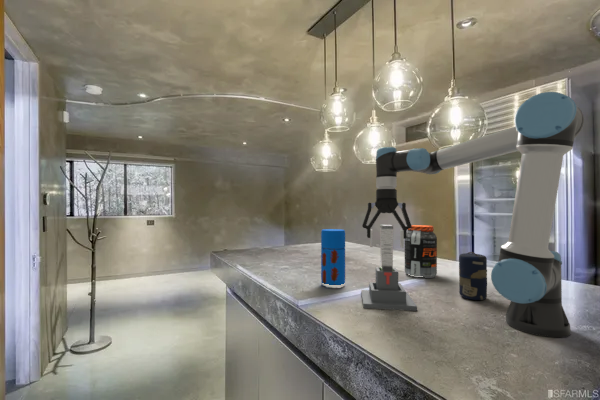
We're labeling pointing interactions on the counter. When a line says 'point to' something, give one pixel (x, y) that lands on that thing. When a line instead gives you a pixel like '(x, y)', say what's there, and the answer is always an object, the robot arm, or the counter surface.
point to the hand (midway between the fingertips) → (386, 247)
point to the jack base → (387, 292)
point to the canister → (473, 276)
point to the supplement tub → (421, 251)
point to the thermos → (333, 256)
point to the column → (386, 246)
